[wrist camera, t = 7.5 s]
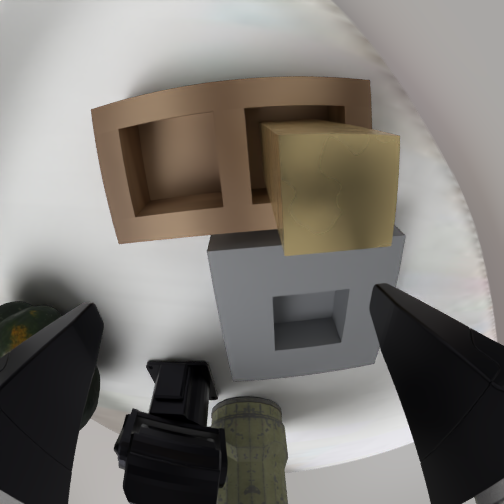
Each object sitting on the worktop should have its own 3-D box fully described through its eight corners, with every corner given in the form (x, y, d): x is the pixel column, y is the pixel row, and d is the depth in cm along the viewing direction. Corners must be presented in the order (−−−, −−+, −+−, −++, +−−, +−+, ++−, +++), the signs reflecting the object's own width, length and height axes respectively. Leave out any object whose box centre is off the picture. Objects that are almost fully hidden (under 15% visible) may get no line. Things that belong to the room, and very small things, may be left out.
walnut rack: (344, 84, 15) (369, 80, 12) (346, 200, 19) (368, 222, 15) (119, 107, 15) (90, 109, 12) (139, 218, 19) (118, 244, 16)
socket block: (361, 332, 25) (374, 363, 21) (233, 346, 25) (233, 381, 22) (379, 212, 19) (405, 235, 16) (213, 224, 20) (207, 251, 16)
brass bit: (317, 173, 17) (391, 246, 8) (263, 176, 17) (284, 256, 8) (315, 119, 15) (399, 135, 7) (258, 121, 15) (278, 135, 7)
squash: (146, 403, 21) (-6, 451, 8) (95, 429, 27) (-2, 458, 13) (88, 272, 26) (-46, 271, 13) (54, 334, 31) (-39, 342, 18)
